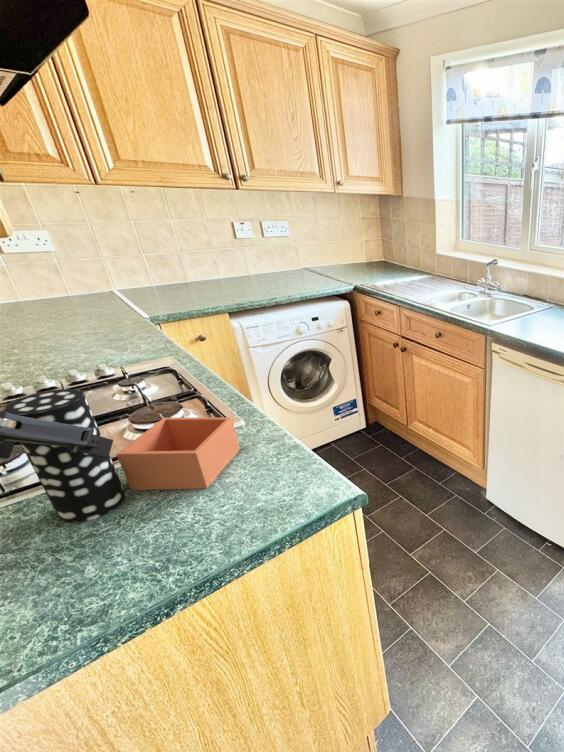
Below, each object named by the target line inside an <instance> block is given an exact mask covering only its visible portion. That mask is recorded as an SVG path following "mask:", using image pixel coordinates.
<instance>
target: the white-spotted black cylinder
mask: <svg viewBox="0 0 564 752" xmlns="http://www.w3.org/2000/svg"><path fill="white" fill-rule="evenodd" d="M2 411H4V412H7V413H11V414H15V415H19V416H23V417H29V418H34V419H40V420H46V421H52V422H58V423H63V424H69V425H75V426H81V427H89V428H93V429H94V432H93V435H97V436H101V437H103V436H102V434H101V431H100V428H99V426H98V424H97V421H96V419H95V417H94V415H93V412H92V410H91V407H90V405H89V403H88V400H87V398H86V396H85V394H84V391H82V390H80V389H76V388H59V389H50V390H45V391H40V392H36V393H32V394H28V395H26V396H23V397H20V398H18V399H15V400H13V401H11V402H8V404H6V405H5V406H4V407H3V410H2ZM19 443H20V445H21V448H22V449H23V452H24V453H25V456H26V457H27V459H28V461H29V463H30V465H31V466H32V468H33V471H34V473H35V474H36V476H37V478H38V480H39V482H40V484H41V487H42V488H43V490H44V492H45V493H46V495H47V497H48V499H49V502H50V503H51V505H52V507H53V509H54V511H55V513H56V515H57V516H58V519H59V520H60V521H61V522H64V523H68V524H76V523H83V522H88V521H91V520H94V519H97V518H100V517H103V516H105V515H107V514H109V513H111V512H113V511H114V510H115V509H117V508H118V507H120V506H121V505H123V503H124V502H125V500H126V497H127V493H126V491H125V488H124V486H123V483H122V481H121V478H120V476H119V474H118V472H117V469H116V467H115V465H114V462H113V460H112V457H111V456H110V455H111V454H109V457H100V456H95V455H91V454H86V453H82V452H77V453H70V450H68V449H66V448H67V447H63V446H53V445H43V444H34V443H24V442H19Z"/></svg>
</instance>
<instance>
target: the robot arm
mask: <svg viewBox="0 0 564 752" xmlns="http://www.w3.org/2000/svg"><path fill="white" fill-rule="evenodd" d="M93 432H94V429H93V428H89V427H81V426H75V425H69V424H63V423H58V422H52V421H46V420H40V419H34V418H29V417H23V416H19V415H15V414H11V413H7V412H4V411H3V410H1V411H0V459H10V458H11V456H12V453H13V450H14V447H15V444H16V443H20V442H24V443H34V444H43V445H53V446H63V447H67V448H66V449H68V450H70V453H77V452H82V453H86V454H91V455H95V456H100V457H109V455H110V454H111V449H112V446H113V444H114V439H111V438H108V437H104V436H102V435H101V436H102V437H101V436H97V435H93Z"/></svg>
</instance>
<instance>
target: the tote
mask: <svg viewBox="0 0 564 752" xmlns="http://www.w3.org/2000/svg"><path fill="white" fill-rule="evenodd" d="M240 450H241V447H240V443H239V440H238V436H237V433H236V428H235V425H234V421H233V418H232V417H163V418H161V419H160V420H158V421H157V422H156V423H155V424H154V425H152V426H151V427H150V428H149V429H147V430H146V431H145V432H143V433H142V434H140V435H139V436H138V437H137V438H136V439H134V440H132V442H130V443H129V444H127V445H126V446H125V447H124V448H122V449H121V450H119V451H118V453H116V456H117V459H118V462H119V464H120V466H121V469H122V472H123V474H124V476H125V479H126V481H127V483H128V486H129V489H130V490H131V491H141V490H143V491H144V490H146V491H147V490H183V489H184V490H186V489H187V490H190V489H208V488H209V487H210V486H211V484H212V483H213V482H214V481H215V480H216V478H217V477H218V476H219V475H220V474H221V473H222V471H223V470H224V469H225V468H226V467H227V466H228V464H229V463H230V462H231V461H232V460H233V458H234V457H235V456H236V455H237V454H238V452H239V451H240Z"/></svg>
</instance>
